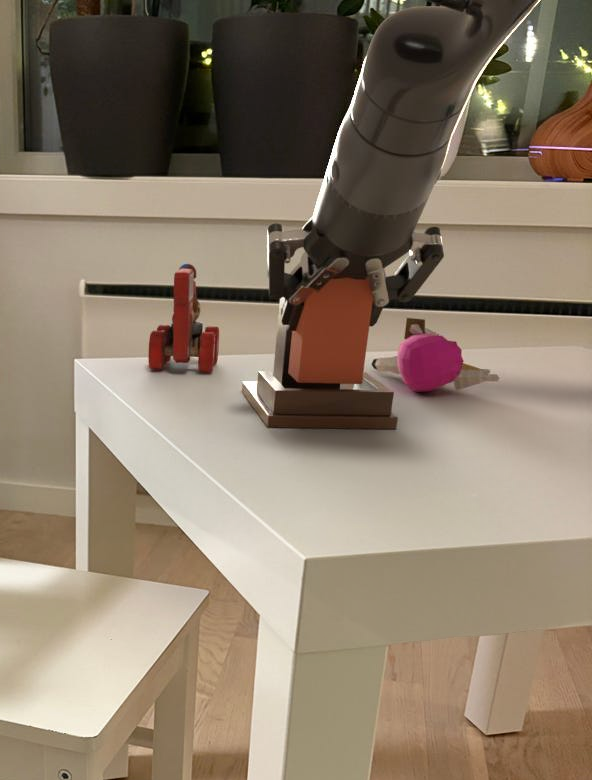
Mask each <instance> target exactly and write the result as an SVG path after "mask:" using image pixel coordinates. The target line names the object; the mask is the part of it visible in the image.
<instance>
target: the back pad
mask: <svg viewBox="0 0 592 780" xmlns="http://www.w3.org/2000/svg"><path fill="white" fill-rule="evenodd" d="M372 302H373V297H372V293H371V289H370V284H369V279H368V277H367V278H366V280H356V279H352V278H341V279H331V280H330V281H329V282H328V283H327V284H326V285H325V286H324V287H323V288H322V289H321V290H320V291H319V292H315V291H313V292H312V293H311V294H310V295H309V296H308V297H307V299H306V300H305V301H304V307H303V310H302V313H301V316H300V319H299V322H298V325H297V328H296V331H292V339H291V349H290V359H289V370H288V373H289V374H290V375H291V376H292V377H293V378H294V379H295V380H296V381H297V382H298V383H334V384H362V379H363V372H364V369H365V362H366V355H367V346H368V339H369V332H370V326H369V325H370V317H371V310H372Z"/></svg>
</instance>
